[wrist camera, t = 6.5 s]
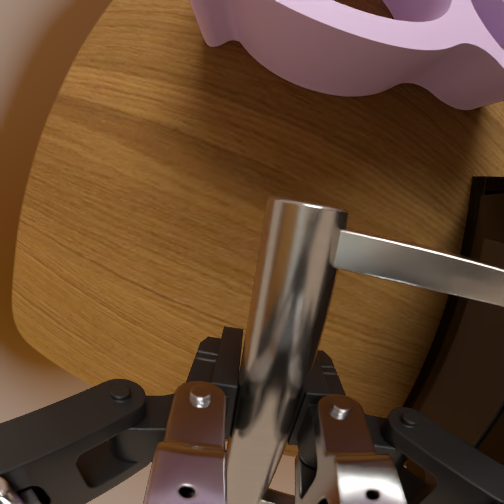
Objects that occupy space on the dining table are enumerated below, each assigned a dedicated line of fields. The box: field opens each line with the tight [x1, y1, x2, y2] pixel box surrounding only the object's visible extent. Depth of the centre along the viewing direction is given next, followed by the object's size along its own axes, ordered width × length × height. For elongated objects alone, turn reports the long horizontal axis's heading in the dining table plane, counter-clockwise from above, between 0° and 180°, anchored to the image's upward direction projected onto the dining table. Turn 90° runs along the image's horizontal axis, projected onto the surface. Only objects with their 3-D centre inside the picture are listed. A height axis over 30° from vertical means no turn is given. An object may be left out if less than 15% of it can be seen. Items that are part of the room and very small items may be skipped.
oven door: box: [227, 193, 504, 504], centre depth 11 cm, size 17×11×13 cm, turn 172°
